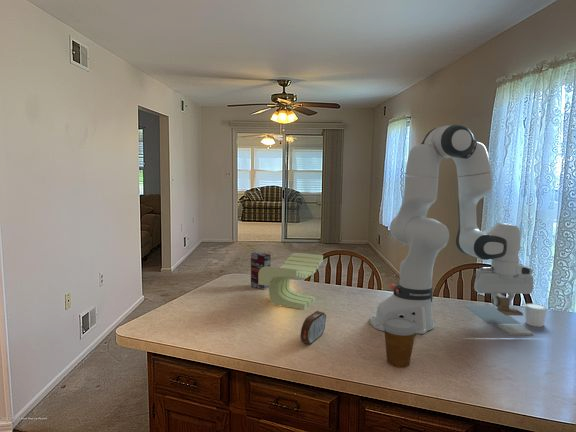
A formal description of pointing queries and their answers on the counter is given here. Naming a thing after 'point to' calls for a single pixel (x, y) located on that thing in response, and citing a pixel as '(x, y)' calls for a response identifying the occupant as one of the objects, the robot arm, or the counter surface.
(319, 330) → the tin
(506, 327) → the tile
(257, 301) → the counter surface
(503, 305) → the tan stepped block
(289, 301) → the slatted curved stool
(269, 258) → the supplement box
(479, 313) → the tool rest mat
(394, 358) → the disposable coffee cup
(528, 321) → the white cup
